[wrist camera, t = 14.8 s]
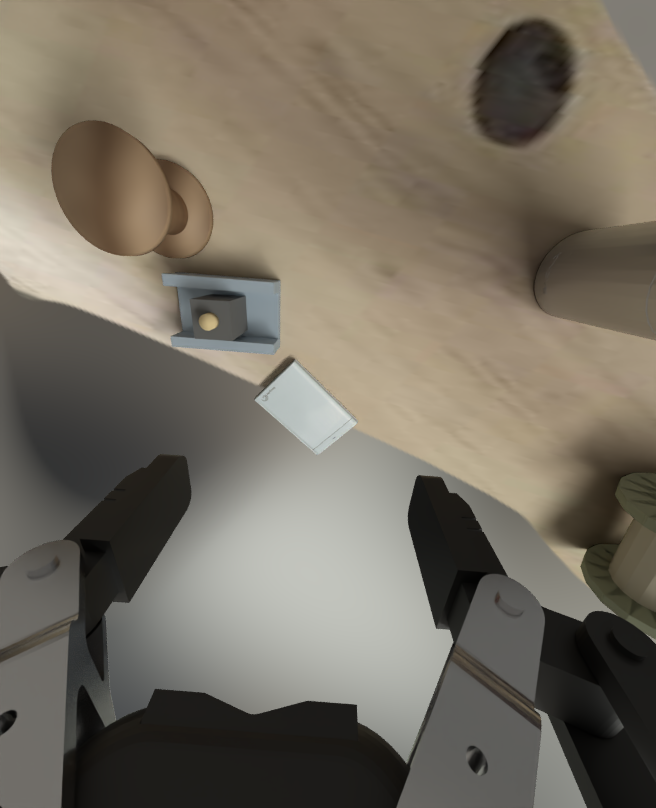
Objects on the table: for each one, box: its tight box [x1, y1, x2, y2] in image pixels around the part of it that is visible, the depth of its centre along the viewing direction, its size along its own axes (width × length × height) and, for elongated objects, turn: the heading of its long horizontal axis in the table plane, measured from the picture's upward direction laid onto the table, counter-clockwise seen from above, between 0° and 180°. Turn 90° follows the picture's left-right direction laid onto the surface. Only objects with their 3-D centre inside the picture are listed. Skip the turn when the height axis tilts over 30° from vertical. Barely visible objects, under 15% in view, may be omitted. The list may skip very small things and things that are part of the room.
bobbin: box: [52, 121, 213, 258], centre depth 29 cm, size 9×9×10 cm
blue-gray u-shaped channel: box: [162, 272, 280, 355], centre depth 36 cm, size 12×8×4 cm, turn 86°
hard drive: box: [255, 359, 358, 455], centre depth 43 cm, size 2×8×12 cm
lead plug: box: [189, 294, 248, 341], centre depth 33 cm, size 4×4×7 cm
